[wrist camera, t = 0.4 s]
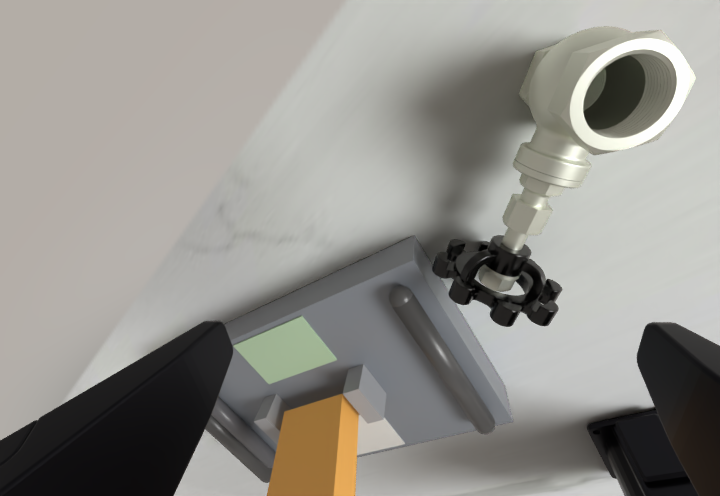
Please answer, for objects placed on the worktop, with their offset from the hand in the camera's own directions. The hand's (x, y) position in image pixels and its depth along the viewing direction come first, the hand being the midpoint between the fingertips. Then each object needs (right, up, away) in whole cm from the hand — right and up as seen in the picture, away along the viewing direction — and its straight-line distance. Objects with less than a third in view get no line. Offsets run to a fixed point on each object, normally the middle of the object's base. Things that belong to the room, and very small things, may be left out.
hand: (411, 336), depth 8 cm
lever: (-4, -9, +17) cm, 20 cm away
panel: (-3, -7, +21) cm, 22 cm away
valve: (+8, +7, +11) cm, 15 cm away
